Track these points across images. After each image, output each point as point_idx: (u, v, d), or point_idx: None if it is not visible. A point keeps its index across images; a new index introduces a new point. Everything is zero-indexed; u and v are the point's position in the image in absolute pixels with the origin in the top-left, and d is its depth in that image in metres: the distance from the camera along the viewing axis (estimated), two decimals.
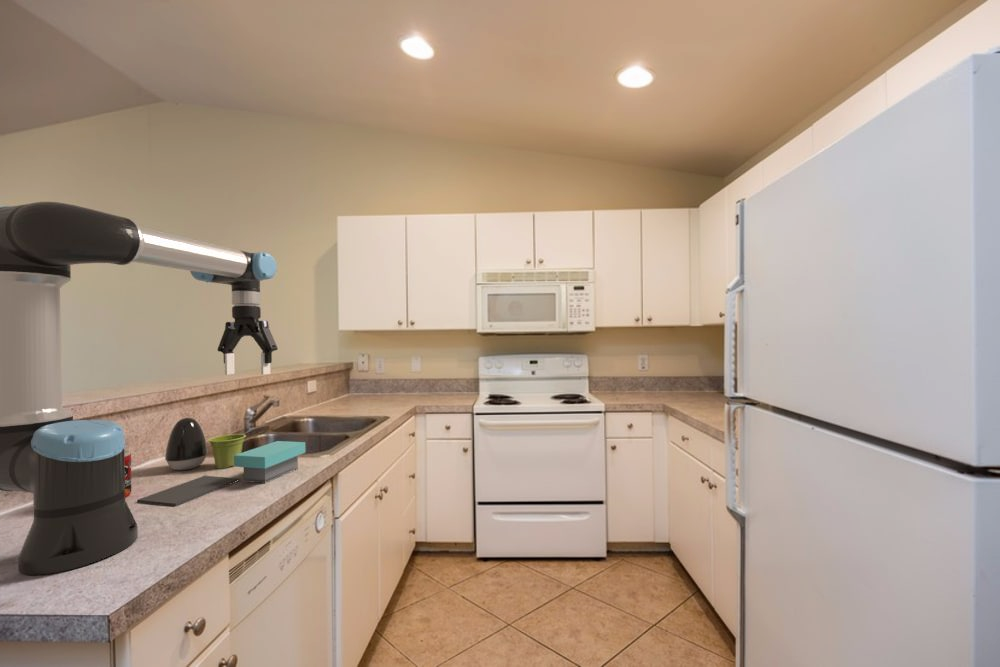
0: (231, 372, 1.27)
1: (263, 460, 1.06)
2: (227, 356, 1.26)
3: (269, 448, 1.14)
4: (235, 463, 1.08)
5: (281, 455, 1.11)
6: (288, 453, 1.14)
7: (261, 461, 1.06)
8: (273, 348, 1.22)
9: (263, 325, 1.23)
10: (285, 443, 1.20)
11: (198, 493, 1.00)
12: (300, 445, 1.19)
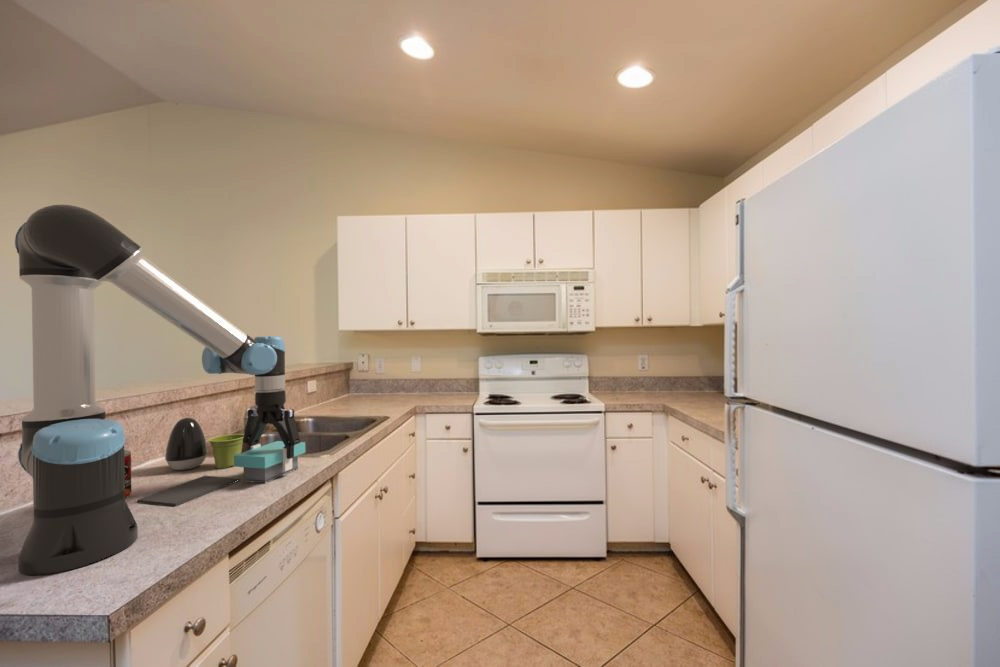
0: None
1: (263, 460, 1.06)
2: None
3: (269, 448, 1.14)
4: (235, 463, 1.08)
5: (281, 455, 1.11)
6: None
7: (261, 461, 1.06)
8: (296, 443, 1.12)
9: (289, 416, 1.12)
10: None
11: (198, 493, 1.00)
12: (300, 445, 1.18)
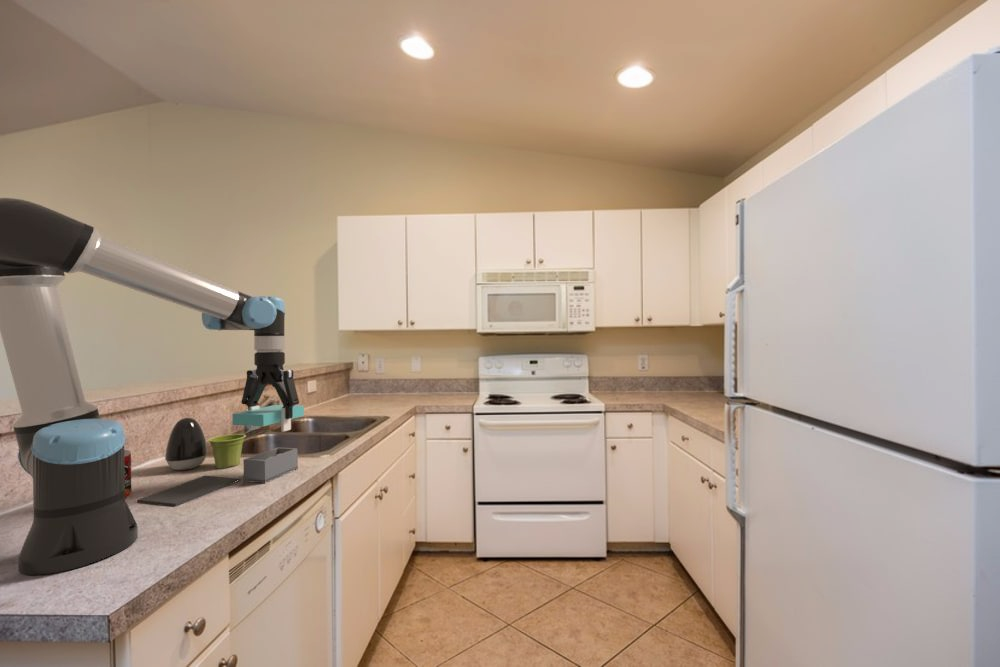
0: (256, 427, 1.16)
1: (261, 418, 1.06)
2: None
3: (268, 409, 1.14)
4: (233, 421, 1.08)
5: (280, 415, 1.11)
6: None
7: (259, 419, 1.06)
8: (294, 403, 1.12)
9: (288, 376, 1.12)
10: None
11: (198, 493, 1.00)
12: (299, 408, 1.18)
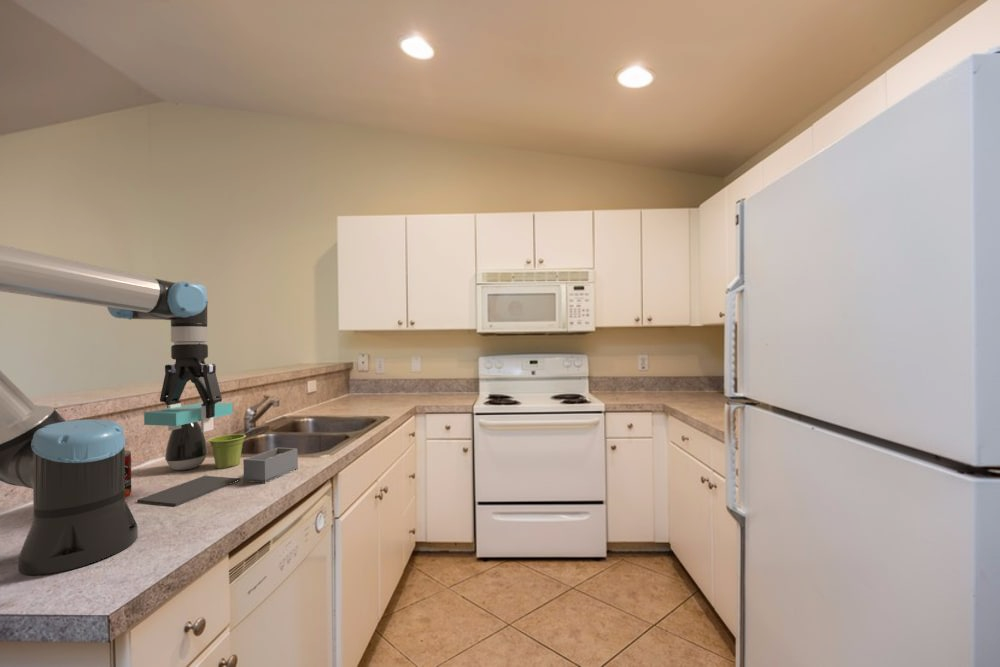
0: (176, 427, 1.05)
1: (174, 417, 0.95)
2: None
3: (188, 407, 1.04)
4: (145, 420, 0.98)
5: (199, 413, 1.01)
6: None
7: (172, 418, 0.95)
8: (216, 400, 1.01)
9: (208, 370, 1.01)
10: None
11: (198, 493, 1.00)
12: (225, 405, 1.08)
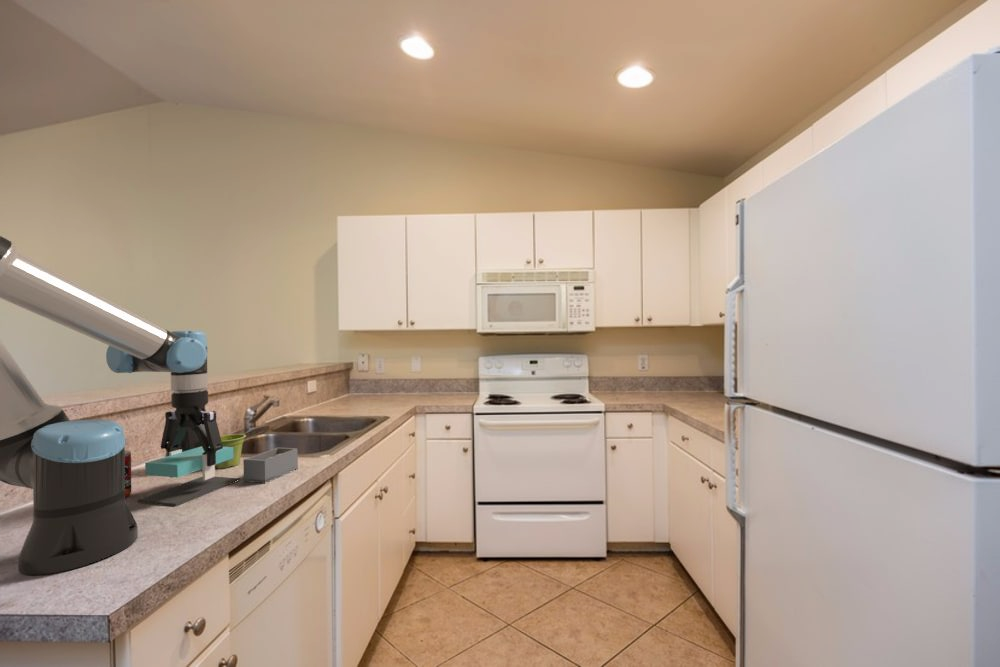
0: None
1: (176, 468, 0.95)
2: None
3: (189, 454, 1.04)
4: (146, 471, 0.98)
5: (200, 462, 1.01)
6: None
7: (173, 470, 0.96)
8: (217, 448, 1.01)
9: (209, 418, 1.01)
10: None
11: (198, 493, 1.00)
12: (226, 450, 1.08)
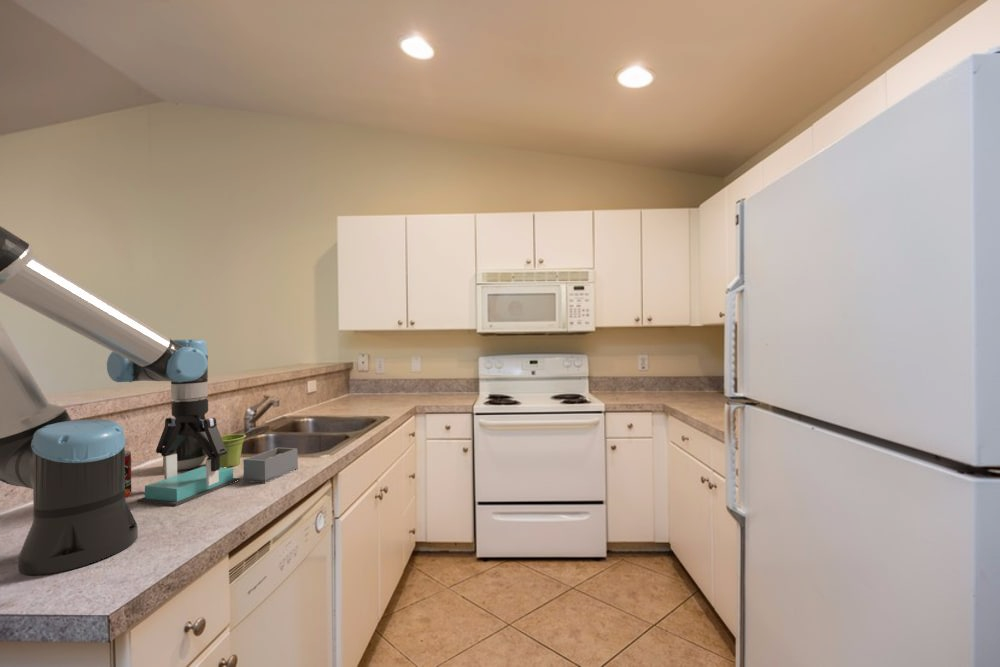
0: None
1: (175, 492, 0.95)
2: (167, 459, 1.04)
3: (189, 476, 1.04)
4: (146, 494, 0.97)
5: (200, 485, 1.01)
6: None
7: (172, 494, 0.95)
8: (221, 453, 1.01)
9: (209, 425, 1.01)
10: None
11: (198, 493, 1.00)
12: (226, 472, 1.08)
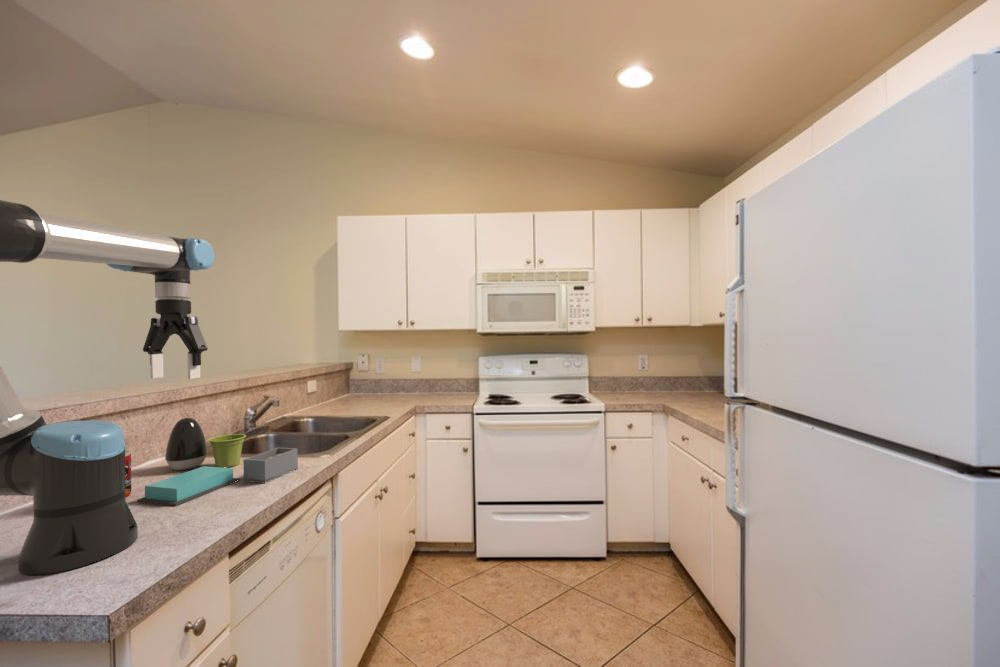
0: (159, 375, 1.11)
1: (175, 492, 0.95)
2: (153, 357, 1.10)
3: (189, 476, 1.04)
4: (146, 494, 0.97)
5: (200, 485, 1.01)
6: (209, 482, 1.03)
7: (172, 494, 0.95)
8: (201, 348, 1.06)
9: (190, 322, 1.06)
10: (210, 469, 1.09)
11: (198, 493, 1.00)
12: (226, 472, 1.08)
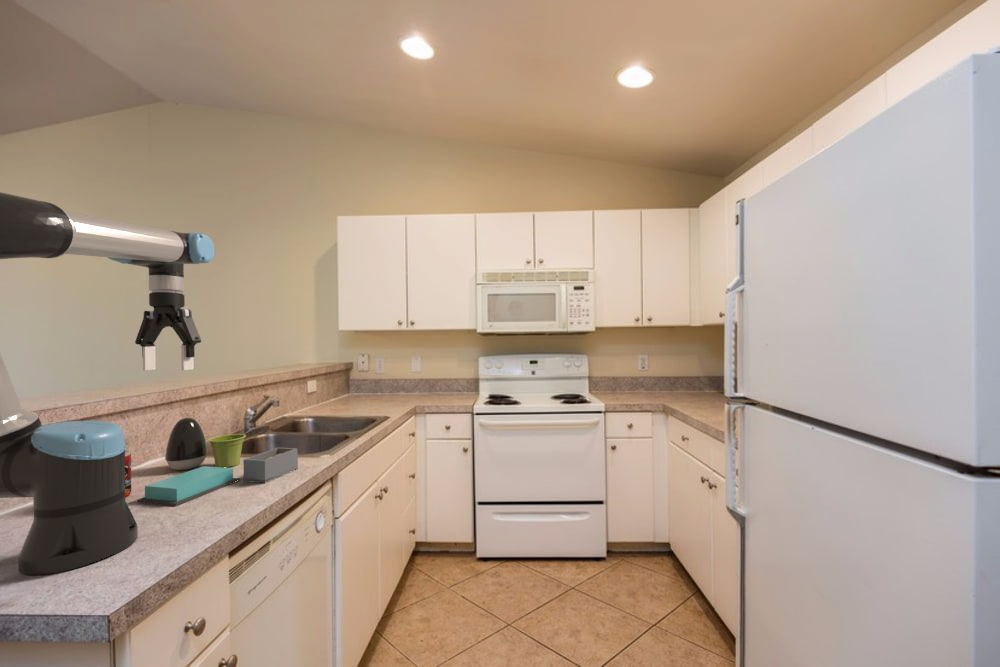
0: (151, 368, 1.12)
1: (175, 492, 0.95)
2: (145, 349, 1.11)
3: (189, 476, 1.04)
4: (146, 494, 0.97)
5: (200, 485, 1.01)
6: (209, 482, 1.03)
7: (172, 494, 0.95)
8: (195, 340, 1.08)
9: (184, 314, 1.08)
10: (210, 469, 1.09)
11: (198, 493, 1.00)
12: (226, 472, 1.08)
